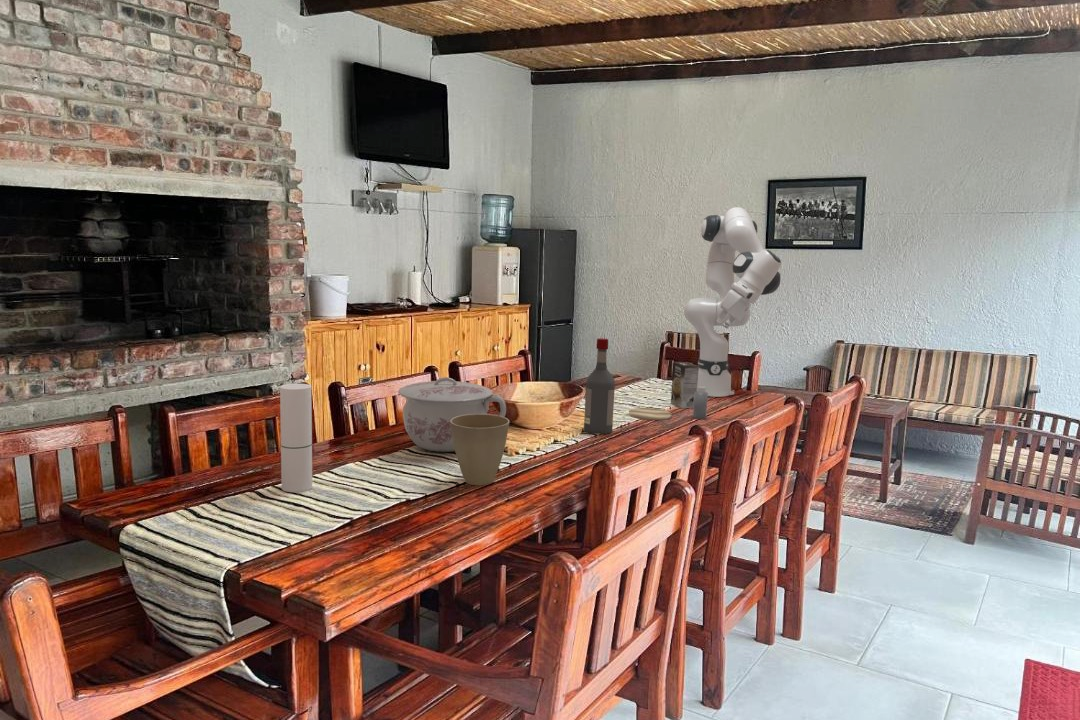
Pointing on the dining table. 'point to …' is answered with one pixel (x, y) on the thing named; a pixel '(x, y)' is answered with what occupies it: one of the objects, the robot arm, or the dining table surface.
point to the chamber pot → (442, 410)
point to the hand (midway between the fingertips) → (721, 325)
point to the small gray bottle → (700, 403)
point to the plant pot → (479, 445)
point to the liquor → (599, 395)
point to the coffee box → (684, 384)
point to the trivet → (650, 414)
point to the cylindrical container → (296, 437)
